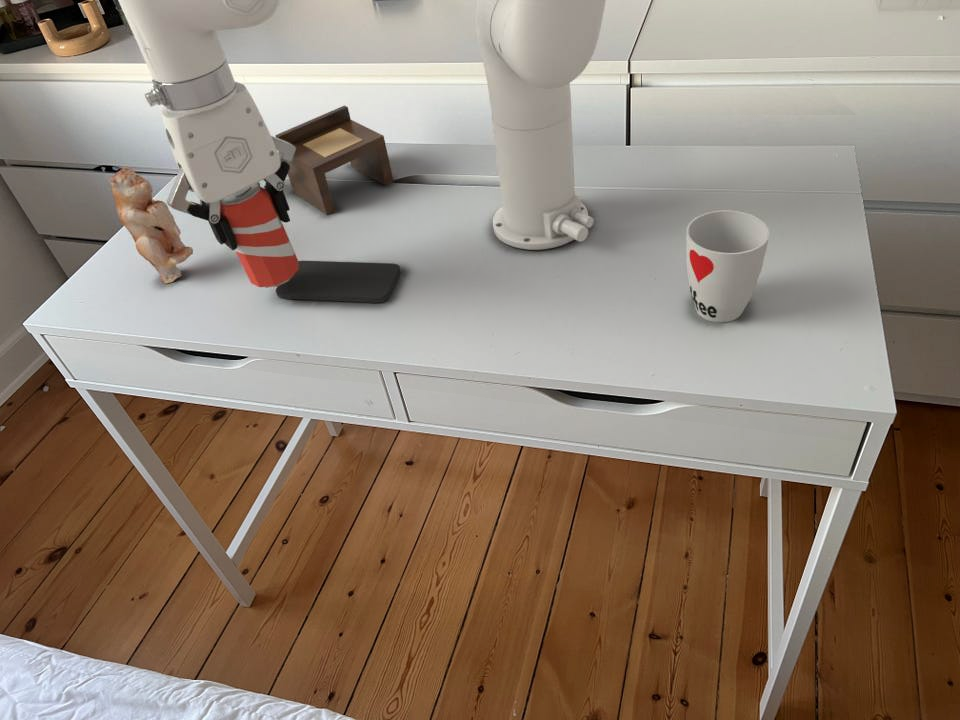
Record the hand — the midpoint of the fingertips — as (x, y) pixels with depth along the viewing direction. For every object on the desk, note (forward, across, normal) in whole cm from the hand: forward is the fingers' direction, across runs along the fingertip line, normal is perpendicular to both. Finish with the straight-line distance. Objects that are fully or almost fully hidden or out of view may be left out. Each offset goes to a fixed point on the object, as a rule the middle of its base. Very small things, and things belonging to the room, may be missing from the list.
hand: (256, 230), depth 91 cm
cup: (+11, +33, -42) cm, 54 cm away
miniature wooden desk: (+10, +20, +17) cm, 28 cm away
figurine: (+9, -8, +16) cm, 21 cm away
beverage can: (+7, 0, 0) cm, 7 cm away
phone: (+10, +6, -4) cm, 12 cm away
